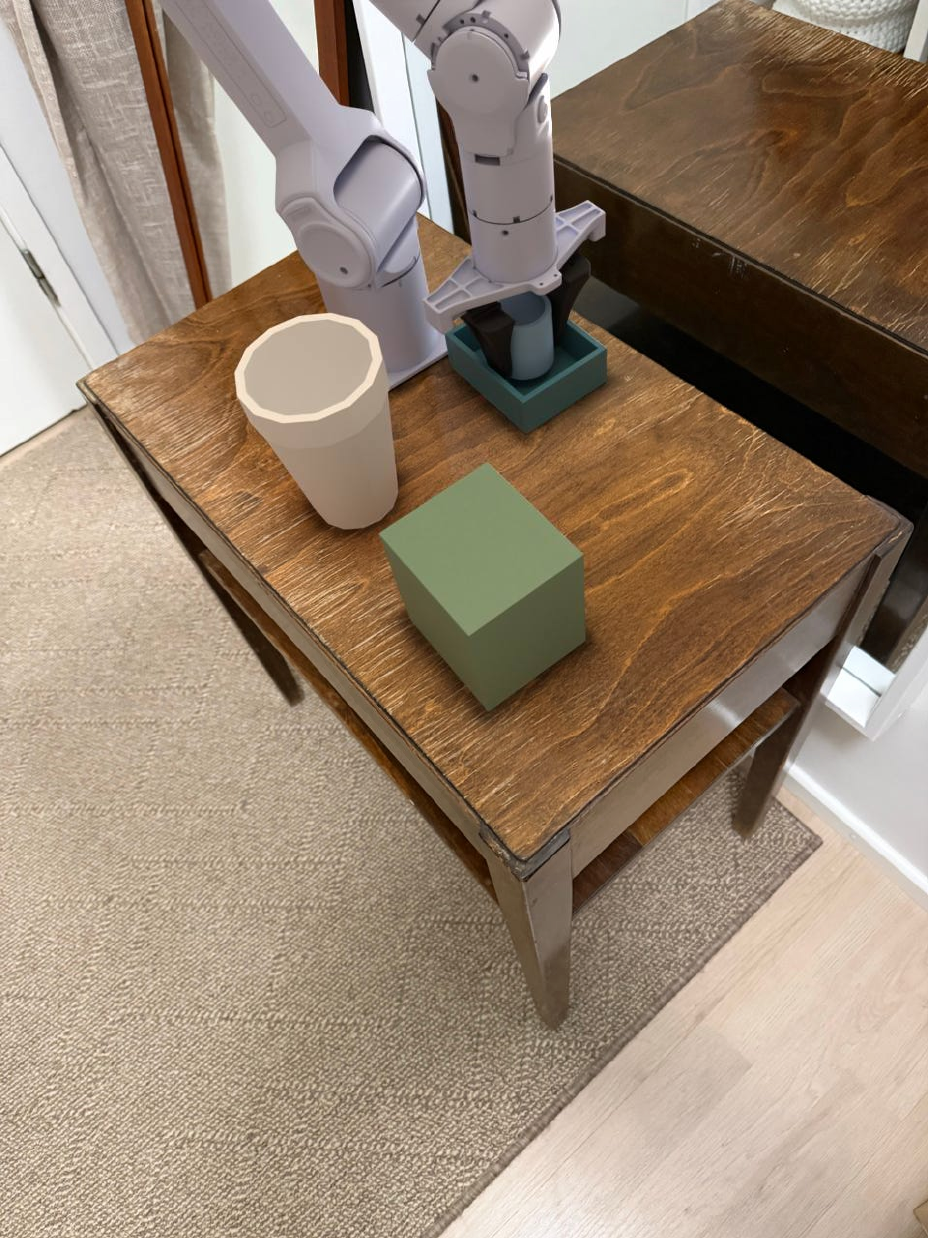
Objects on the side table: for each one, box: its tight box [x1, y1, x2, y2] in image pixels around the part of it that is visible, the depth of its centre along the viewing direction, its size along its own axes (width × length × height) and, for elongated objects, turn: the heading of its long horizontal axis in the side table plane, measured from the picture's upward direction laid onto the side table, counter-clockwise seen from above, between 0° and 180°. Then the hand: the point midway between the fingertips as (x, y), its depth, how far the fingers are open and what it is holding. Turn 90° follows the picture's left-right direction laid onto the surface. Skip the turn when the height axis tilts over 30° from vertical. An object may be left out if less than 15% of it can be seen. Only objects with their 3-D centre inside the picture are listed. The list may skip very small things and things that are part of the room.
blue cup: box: [498, 291, 554, 380], centre depth 66 cm, size 4×4×5 cm
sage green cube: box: [378, 461, 587, 713], centre depth 54 cm, size 9×8×10 cm
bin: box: [444, 317, 608, 435], centre depth 68 cm, size 10×8×3 cm
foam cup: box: [234, 312, 399, 530], centre depth 60 cm, size 10×9×13 cm
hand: (524, 355), depth 68 cm, fingers closed on blue cup, 4 cm apart
